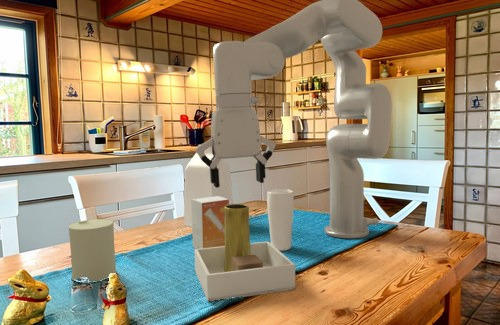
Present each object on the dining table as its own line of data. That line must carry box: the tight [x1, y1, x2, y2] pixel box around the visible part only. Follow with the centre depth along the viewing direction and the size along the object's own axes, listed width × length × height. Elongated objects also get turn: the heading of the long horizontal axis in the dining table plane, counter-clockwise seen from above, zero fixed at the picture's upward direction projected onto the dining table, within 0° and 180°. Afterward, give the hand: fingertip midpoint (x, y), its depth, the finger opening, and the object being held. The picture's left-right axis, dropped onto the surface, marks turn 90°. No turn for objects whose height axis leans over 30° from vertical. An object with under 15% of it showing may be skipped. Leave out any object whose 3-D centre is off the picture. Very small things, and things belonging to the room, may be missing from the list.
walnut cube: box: [231, 255, 263, 271], centre depth 79 cm, size 5×5×5 cm
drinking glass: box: [266, 188, 295, 252], centre depth 103 cm, size 7×7×15 cm
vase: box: [224, 203, 251, 272], centre depth 86 cm, size 6×6×14 cm
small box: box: [191, 196, 229, 249], centre depth 105 cm, size 8×6×13 cm
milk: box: [183, 144, 234, 228], centre depth 129 cm, size 12×12×26 cm
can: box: [68, 218, 117, 282], centre depth 87 cm, size 9×9×12 cm
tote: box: [194, 241, 296, 303], centre depth 83 cm, size 17×16×5 cm
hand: (238, 184), depth 85 cm, fingers open, 9 cm apart
